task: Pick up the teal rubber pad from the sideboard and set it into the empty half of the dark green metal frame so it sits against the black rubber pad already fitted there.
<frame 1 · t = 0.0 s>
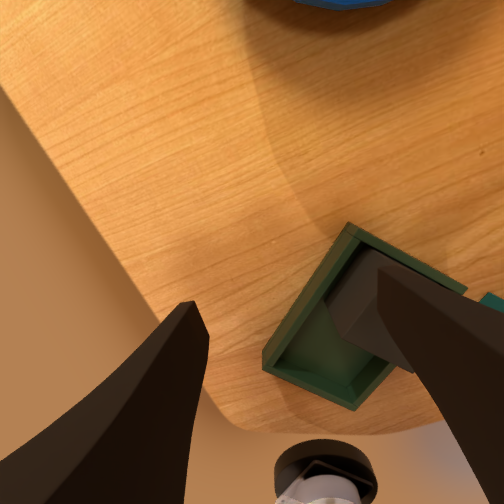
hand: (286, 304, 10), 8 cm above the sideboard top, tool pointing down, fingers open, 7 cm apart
black pad: (370, 285, 18), resting on pad frame
pad frame: (347, 316, 18), on the sideboard top
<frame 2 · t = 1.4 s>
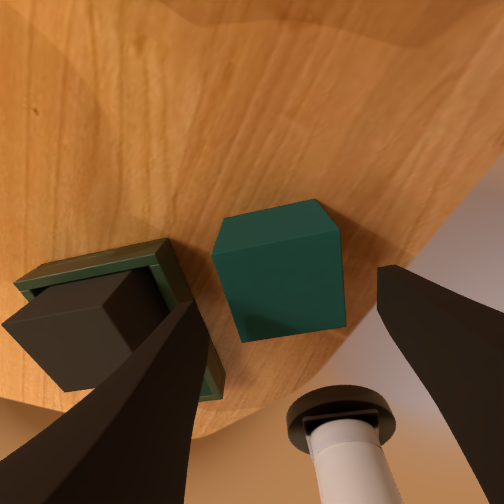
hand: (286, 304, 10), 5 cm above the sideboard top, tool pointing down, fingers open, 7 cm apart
black pad: (127, 293, 16), resting on pad frame
teal pad: (276, 249, 14), on the sideboard top
pad frame: (146, 326, 17), on the sideboard top
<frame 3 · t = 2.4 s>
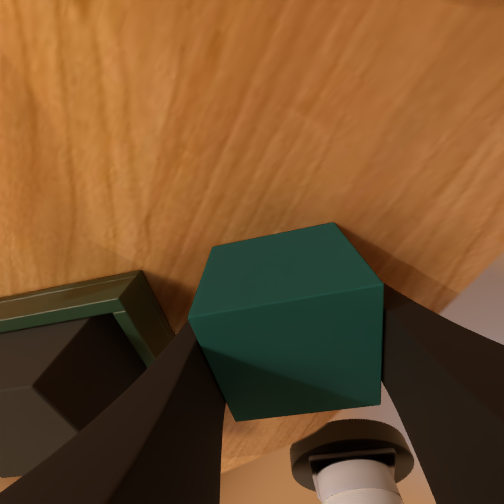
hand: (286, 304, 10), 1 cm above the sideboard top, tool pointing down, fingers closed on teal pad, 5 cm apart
black pad: (94, 335, 12), resting on pad frame
teal pad: (281, 284, 11), on the sideboard top, touching gripper
pad frame: (120, 371, 14), on the sideboard top
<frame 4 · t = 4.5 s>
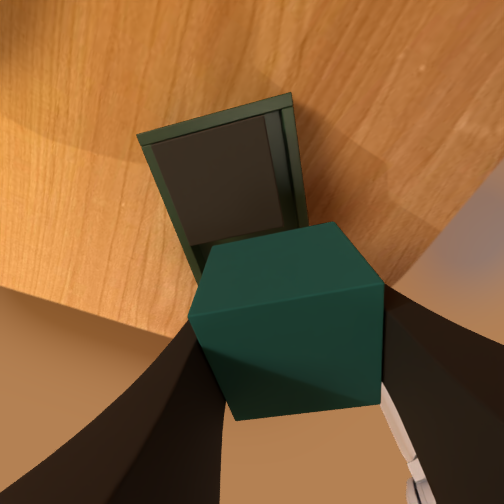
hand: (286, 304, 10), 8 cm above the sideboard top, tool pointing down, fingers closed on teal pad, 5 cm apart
black pad: (230, 171, 15), resting on pad frame
teal pad: (281, 283, 11), point 7 cm above the sideboard top, touching gripper
pad frame: (242, 214, 17), on the sideboard top
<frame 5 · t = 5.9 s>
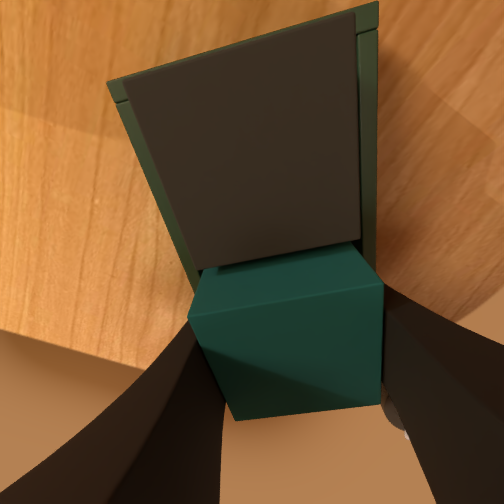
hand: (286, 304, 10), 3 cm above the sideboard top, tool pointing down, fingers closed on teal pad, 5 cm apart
black pad: (256, 152, 10), resting on pad frame
teal pad: (281, 283, 11), point 2 cm above the sideboard top, touching gripper
pad frame: (269, 216, 12), on the sideboard top
when the fingers open (2 cm above the sideboard top, at t = 6.9 s): teal pad stays where it is, resting on pad frame.
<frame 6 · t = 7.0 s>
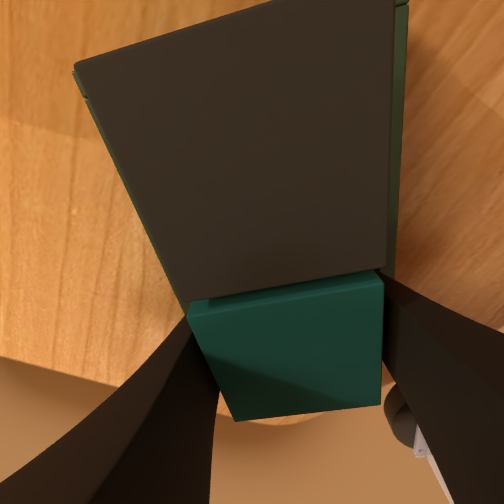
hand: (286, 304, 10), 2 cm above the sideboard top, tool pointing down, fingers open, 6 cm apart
black pad: (256, 156, 9), resting on pad frame
teal pad: (281, 283, 11), resting on pad frame
pad frame: (271, 228, 10), on the sideboard top
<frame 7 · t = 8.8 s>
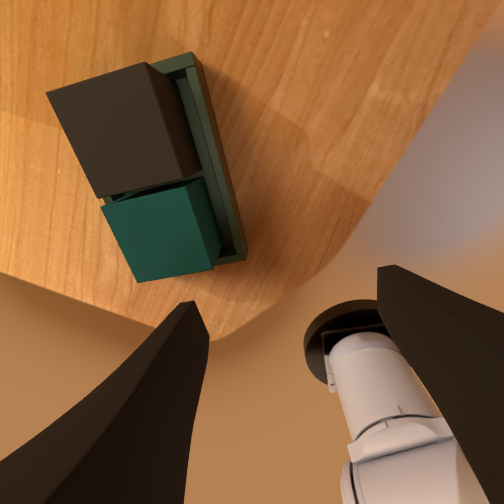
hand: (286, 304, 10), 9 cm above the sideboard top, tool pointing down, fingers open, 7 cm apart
black pad: (157, 138, 16), resting on pad frame
teal pad: (181, 218, 18), resting on pad frame
pad frame: (172, 182, 17), on the sideboard top
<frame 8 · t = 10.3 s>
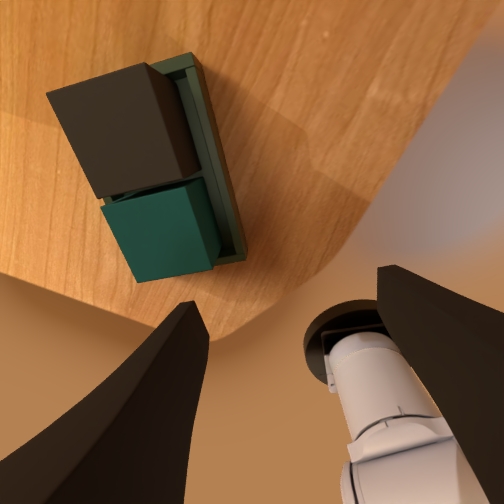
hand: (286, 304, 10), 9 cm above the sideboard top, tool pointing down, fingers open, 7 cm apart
black pad: (156, 138, 16), resting on pad frame
teal pad: (181, 218, 18), resting on pad frame
pad frame: (172, 182, 17), on the sideboard top
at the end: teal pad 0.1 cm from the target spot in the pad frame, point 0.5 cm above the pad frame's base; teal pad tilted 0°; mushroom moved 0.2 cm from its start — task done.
